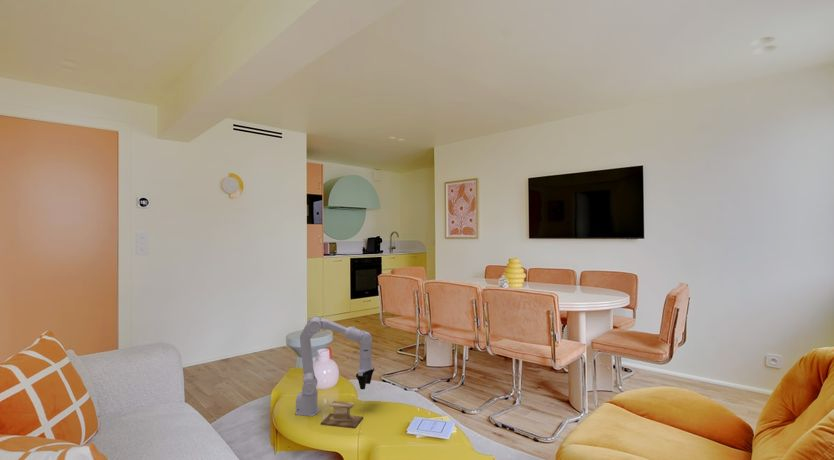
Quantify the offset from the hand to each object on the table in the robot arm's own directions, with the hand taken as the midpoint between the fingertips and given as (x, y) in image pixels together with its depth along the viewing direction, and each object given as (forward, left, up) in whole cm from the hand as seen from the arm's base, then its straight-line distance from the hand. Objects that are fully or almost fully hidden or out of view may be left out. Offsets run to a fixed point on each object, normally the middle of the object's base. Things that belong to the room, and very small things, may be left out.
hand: (365, 386), depth 191 cm
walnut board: (-5, -16, -10) cm, 20 cm away
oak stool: (-5, -16, -10) cm, 19 cm away
